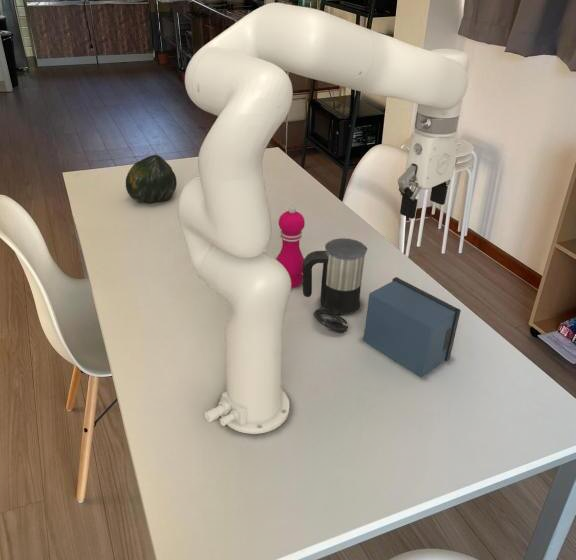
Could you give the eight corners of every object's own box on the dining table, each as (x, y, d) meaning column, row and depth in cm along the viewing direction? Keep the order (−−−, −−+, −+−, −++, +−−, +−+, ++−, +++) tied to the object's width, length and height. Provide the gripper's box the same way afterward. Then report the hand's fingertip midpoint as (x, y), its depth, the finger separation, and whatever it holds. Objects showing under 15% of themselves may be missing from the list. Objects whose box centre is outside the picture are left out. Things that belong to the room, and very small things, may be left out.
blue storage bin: (422, 378, 112) (433, 327, 106) (361, 340, 122) (367, 291, 115) (449, 359, 117) (461, 309, 111) (389, 323, 127) (396, 276, 121)
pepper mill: (301, 291, 137) (305, 214, 127) (271, 287, 139) (273, 210, 128) (306, 275, 143) (310, 201, 133) (278, 271, 145) (280, 198, 134)
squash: (113, 178, 179) (126, 151, 167) (156, 169, 188) (171, 143, 176) (133, 217, 177) (148, 193, 165) (175, 206, 186) (192, 183, 174)
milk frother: (349, 290, 138) (355, 234, 131) (382, 327, 126) (390, 268, 118) (294, 300, 134) (297, 244, 126) (322, 340, 121) (327, 280, 114)
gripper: (425, 137, 97) (411, 228, 106) (480, 119, 107) (463, 203, 116) (389, 127, 102) (379, 215, 111) (446, 109, 112) (432, 192, 121)
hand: (422, 209), depth 114 cm, fingers open, 9 cm apart
